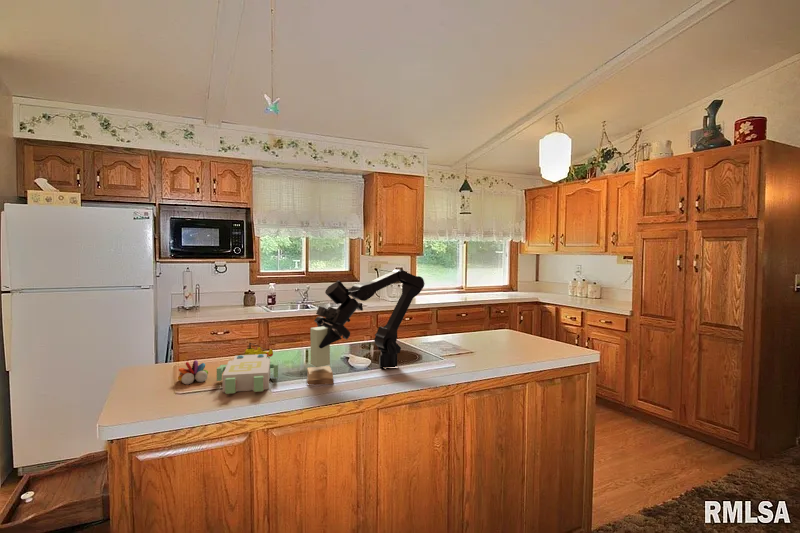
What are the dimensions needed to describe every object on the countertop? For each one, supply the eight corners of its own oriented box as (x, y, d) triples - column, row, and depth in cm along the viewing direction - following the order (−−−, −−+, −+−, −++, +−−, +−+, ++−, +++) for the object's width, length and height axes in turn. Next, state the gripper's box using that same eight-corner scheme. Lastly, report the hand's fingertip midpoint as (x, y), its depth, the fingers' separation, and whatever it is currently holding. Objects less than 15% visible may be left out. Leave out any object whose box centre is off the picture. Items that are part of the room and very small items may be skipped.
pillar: (323, 361, 158) (323, 326, 157) (329, 364, 154) (329, 328, 153) (310, 363, 155) (310, 327, 154) (317, 367, 151) (316, 330, 150)
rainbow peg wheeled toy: (176, 380, 153) (175, 360, 153) (205, 375, 159) (205, 356, 159) (180, 387, 147) (179, 366, 146) (210, 381, 152) (210, 361, 152)
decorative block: (222, 354, 160) (278, 351, 165) (223, 371, 161) (278, 367, 166) (210, 378, 136) (276, 374, 141) (211, 398, 136) (277, 393, 141)
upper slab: (329, 371, 159) (329, 365, 159) (332, 378, 152) (332, 372, 152) (307, 373, 157) (307, 367, 157) (309, 380, 149) (309, 374, 149)
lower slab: (332, 377, 160) (332, 371, 160) (333, 385, 151) (333, 379, 151) (307, 378, 158) (307, 372, 158) (307, 386, 149) (307, 380, 149)
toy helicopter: (274, 362, 176) (274, 338, 175) (240, 375, 159) (240, 348, 159) (262, 360, 178) (262, 336, 178) (228, 372, 162) (227, 346, 161)
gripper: (319, 295, 163) (291, 327, 157) (342, 301, 147) (312, 337, 142) (338, 313, 168) (311, 345, 162) (362, 321, 152) (334, 357, 147)
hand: (316, 346), depth 153 cm, fingers closed on pillar, 5 cm apart
